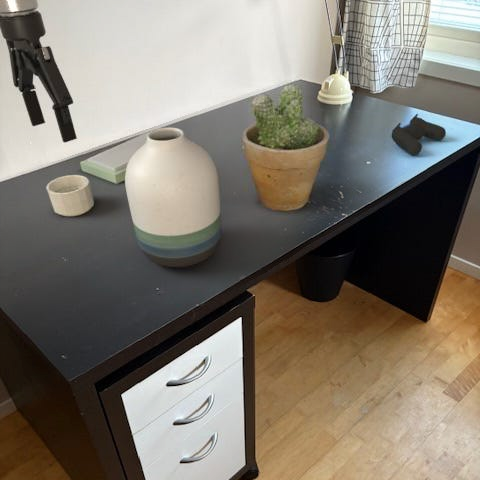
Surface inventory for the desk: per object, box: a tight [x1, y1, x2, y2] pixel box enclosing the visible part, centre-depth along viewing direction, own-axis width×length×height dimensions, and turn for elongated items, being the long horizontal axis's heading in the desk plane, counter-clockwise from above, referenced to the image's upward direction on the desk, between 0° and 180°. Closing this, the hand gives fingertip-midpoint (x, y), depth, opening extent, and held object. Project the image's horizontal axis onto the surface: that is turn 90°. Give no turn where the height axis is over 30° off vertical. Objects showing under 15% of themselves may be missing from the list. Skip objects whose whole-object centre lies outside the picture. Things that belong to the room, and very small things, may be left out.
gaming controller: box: [391, 113, 447, 156], centre depth 131 cm, size 17×6×10 cm
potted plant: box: [242, 83, 330, 212], centre depth 104 cm, size 18×19×25 cm
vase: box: [124, 127, 222, 268], centre depth 89 cm, size 17×17×24 cm
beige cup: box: [45, 174, 95, 217], centre depth 111 cm, size 9×9×6 cm
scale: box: [79, 130, 152, 185], centre depth 131 cm, size 14×26×3 cm, turn 142°
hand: (53, 132), depth 99 cm, fingers open, 13 cm apart
